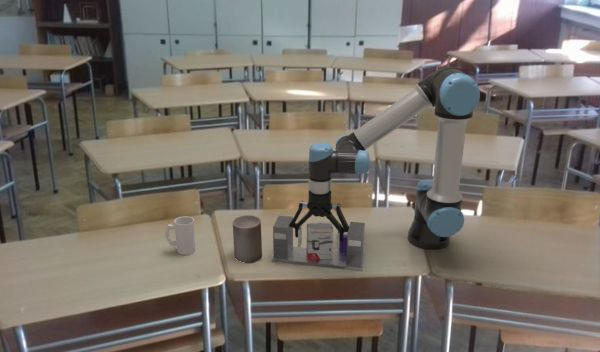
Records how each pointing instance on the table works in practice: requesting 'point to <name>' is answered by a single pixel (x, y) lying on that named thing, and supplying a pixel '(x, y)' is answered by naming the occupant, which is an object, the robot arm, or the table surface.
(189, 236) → the mug
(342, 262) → the rail
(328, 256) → the ink box
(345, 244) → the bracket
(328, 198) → the robot arm
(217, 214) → the table surface
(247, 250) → the pillar candle
